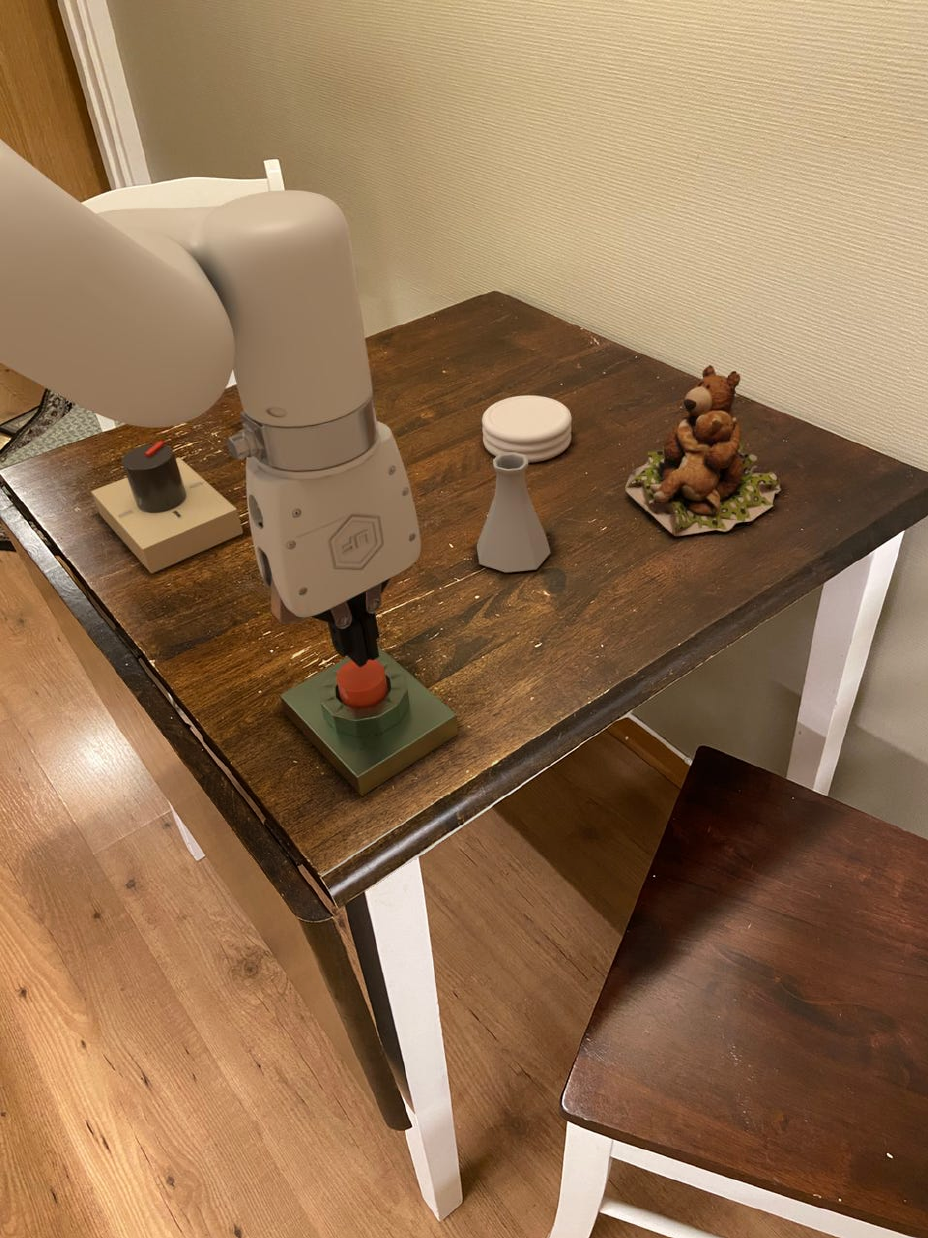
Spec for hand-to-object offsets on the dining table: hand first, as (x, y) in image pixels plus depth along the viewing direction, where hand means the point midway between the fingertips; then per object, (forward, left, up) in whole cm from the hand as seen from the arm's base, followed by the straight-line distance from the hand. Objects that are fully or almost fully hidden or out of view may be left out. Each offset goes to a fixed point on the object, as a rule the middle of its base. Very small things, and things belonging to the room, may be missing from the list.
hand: (358, 652), depth 64 cm
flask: (-1, +25, -8) cm, 26 cm away
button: (0, 0, -4) cm, 4 cm away
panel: (-36, +12, -8) cm, 38 cm away
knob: (-36, +12, -4) cm, 38 cm away
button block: (0, 0, -8) cm, 8 cm away
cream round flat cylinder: (-10, +44, -8) cm, 45 cm away
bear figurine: (+11, +42, -8) cm, 44 cm away
